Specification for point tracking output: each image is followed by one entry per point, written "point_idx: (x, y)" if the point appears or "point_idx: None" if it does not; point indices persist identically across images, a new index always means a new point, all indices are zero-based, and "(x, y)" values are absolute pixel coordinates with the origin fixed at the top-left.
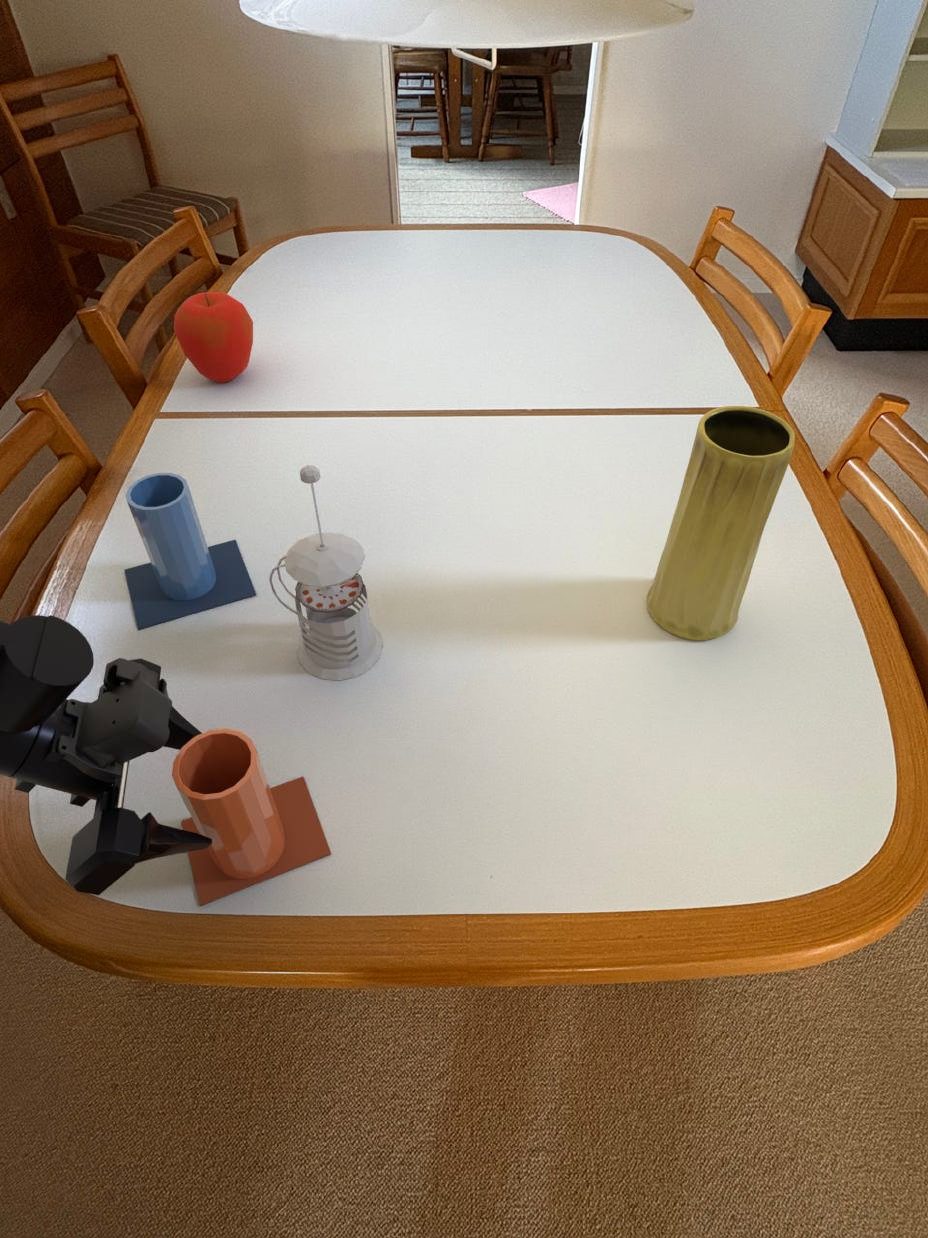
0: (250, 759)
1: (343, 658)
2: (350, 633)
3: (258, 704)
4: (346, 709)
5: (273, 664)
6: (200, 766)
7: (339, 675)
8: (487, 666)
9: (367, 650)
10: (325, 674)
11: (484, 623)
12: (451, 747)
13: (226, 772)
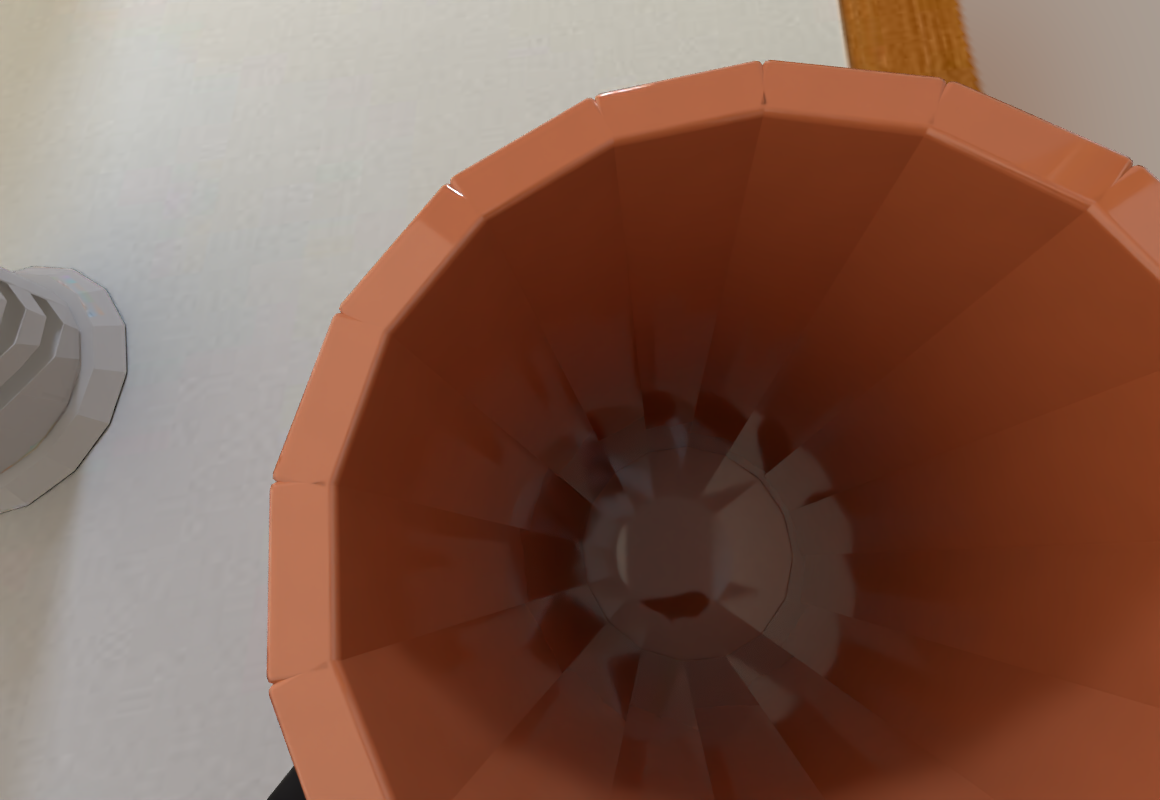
0: (536, 363)
1: (36, 331)
2: None
3: (164, 615)
4: (231, 335)
5: (18, 589)
6: (572, 754)
7: (107, 366)
8: (164, 18)
9: (32, 282)
10: (94, 407)
11: (33, 37)
12: (387, 66)
13: (529, 598)
